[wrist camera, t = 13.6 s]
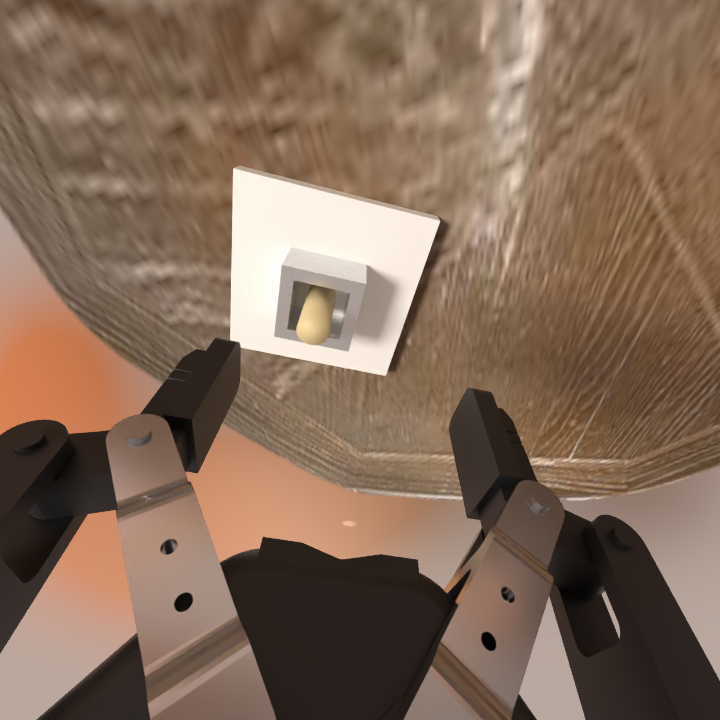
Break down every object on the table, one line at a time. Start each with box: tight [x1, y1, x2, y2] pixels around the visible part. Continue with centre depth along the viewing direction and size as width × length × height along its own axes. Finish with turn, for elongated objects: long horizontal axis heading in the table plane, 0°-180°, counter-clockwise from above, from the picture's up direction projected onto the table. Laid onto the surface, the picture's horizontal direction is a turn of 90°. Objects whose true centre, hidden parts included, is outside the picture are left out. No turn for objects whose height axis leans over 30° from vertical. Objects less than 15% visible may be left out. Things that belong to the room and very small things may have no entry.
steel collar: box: [274, 247, 367, 352], centre depth 30 cm, size 6×6×4 cm
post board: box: [230, 166, 440, 376], centre depth 29 cm, size 16×16×8 cm
